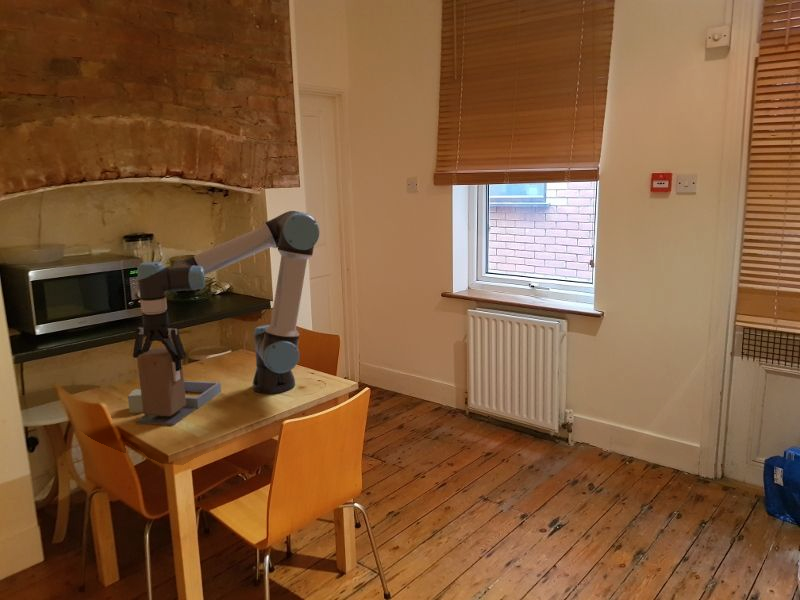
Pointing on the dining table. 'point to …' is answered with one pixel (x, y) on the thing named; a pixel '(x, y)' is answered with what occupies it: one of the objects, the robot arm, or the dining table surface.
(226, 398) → the dining table surface
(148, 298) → the robot arm
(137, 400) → the sage cube
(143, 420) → the plate
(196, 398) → the blue square frame
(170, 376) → the wooden block
